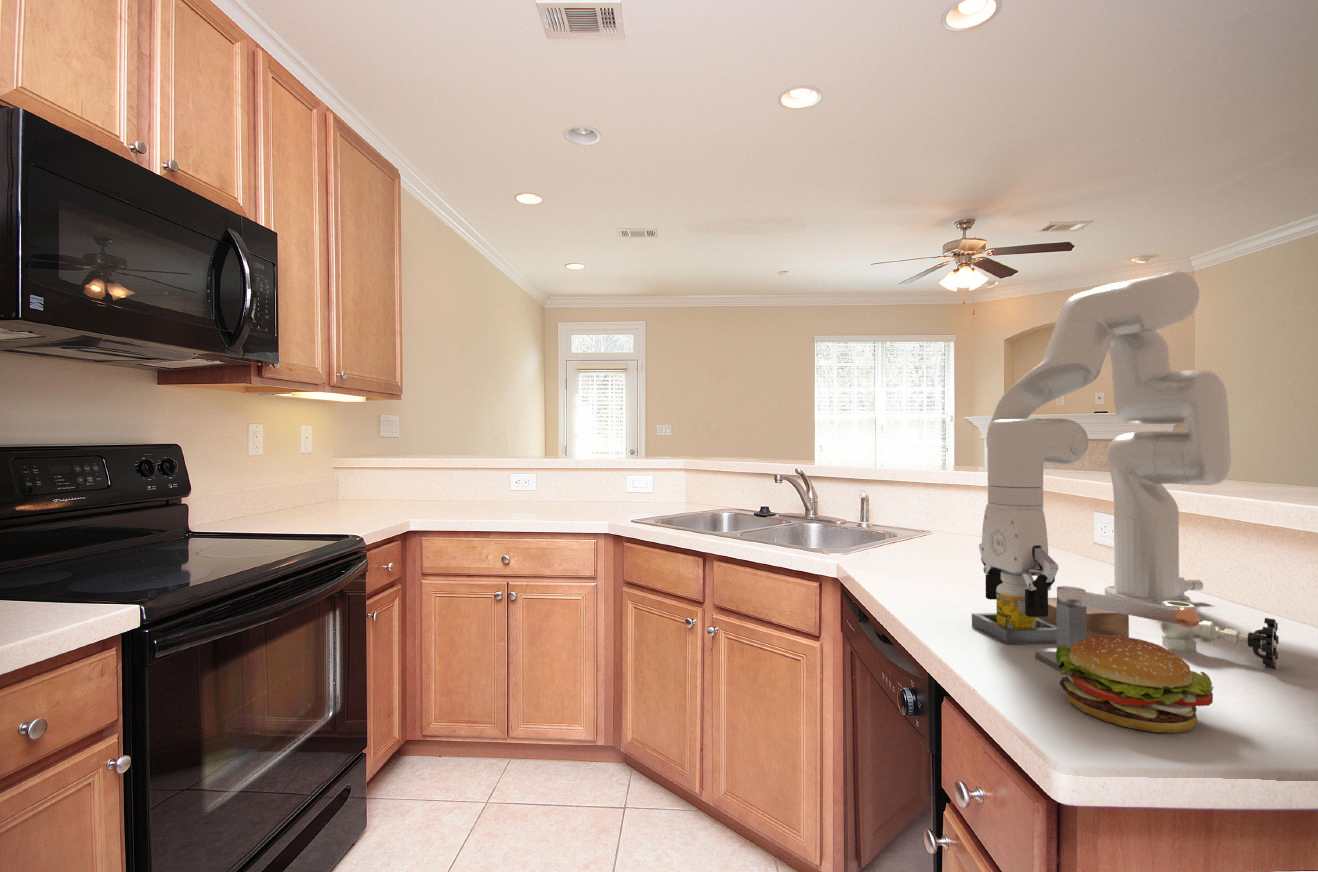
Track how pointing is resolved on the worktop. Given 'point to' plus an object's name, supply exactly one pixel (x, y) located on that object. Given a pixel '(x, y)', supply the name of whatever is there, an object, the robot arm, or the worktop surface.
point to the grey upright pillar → (1066, 631)
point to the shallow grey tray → (1015, 630)
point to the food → (1133, 683)
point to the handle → (1127, 606)
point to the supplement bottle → (1012, 602)
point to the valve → (1220, 636)
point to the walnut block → (1095, 621)
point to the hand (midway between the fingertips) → (1015, 607)
